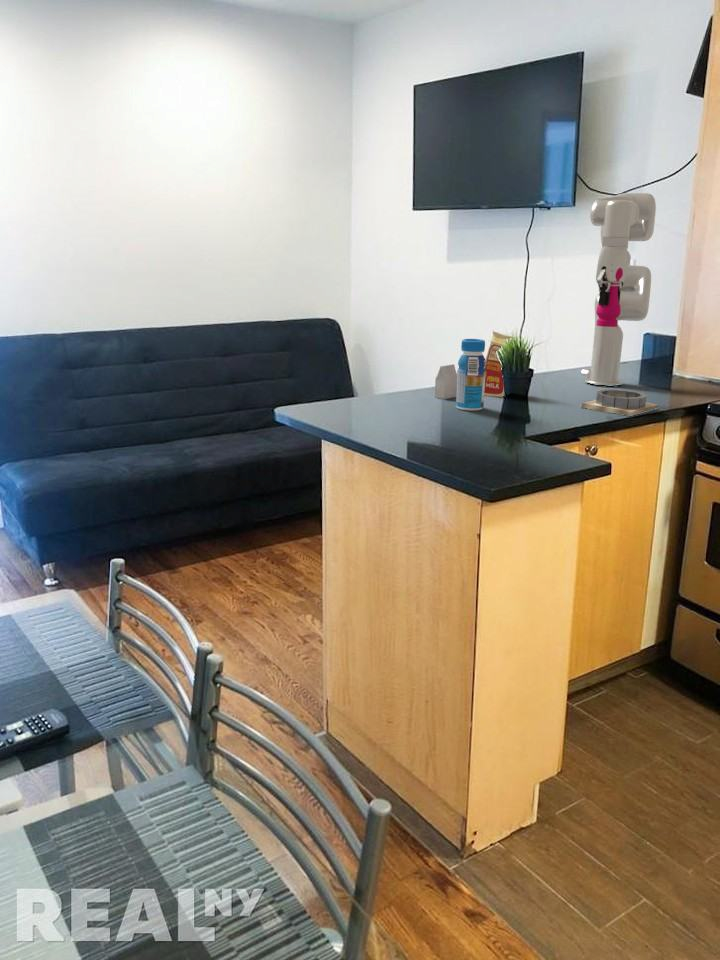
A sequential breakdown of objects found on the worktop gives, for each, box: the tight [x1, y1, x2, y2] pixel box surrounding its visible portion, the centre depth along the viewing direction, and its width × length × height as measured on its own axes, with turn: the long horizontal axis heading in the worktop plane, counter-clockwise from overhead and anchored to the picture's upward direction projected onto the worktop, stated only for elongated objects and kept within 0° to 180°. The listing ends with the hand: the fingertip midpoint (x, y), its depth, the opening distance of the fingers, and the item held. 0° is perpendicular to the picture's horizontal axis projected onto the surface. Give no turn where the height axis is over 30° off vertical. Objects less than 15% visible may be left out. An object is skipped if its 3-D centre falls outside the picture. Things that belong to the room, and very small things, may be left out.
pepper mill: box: [596, 268, 623, 327], centre depth 249 cm, size 7×7×20 cm
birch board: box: [581, 399, 659, 416], centre depth 243 cm, size 16×16×2 cm
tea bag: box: [434, 364, 457, 400], centre depth 255 cm, size 4×7×10 cm, turn 137°
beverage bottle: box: [455, 338, 486, 412], centre depth 237 cm, size 8×8×20 cm
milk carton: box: [484, 330, 516, 398], centre depth 260 cm, size 9×9×20 cm
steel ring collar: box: [595, 389, 647, 409], centre depth 242 cm, size 14×14×3 cm
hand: (608, 304), depth 250 cm, fingers closed on pepper mill, 5 cm apart
